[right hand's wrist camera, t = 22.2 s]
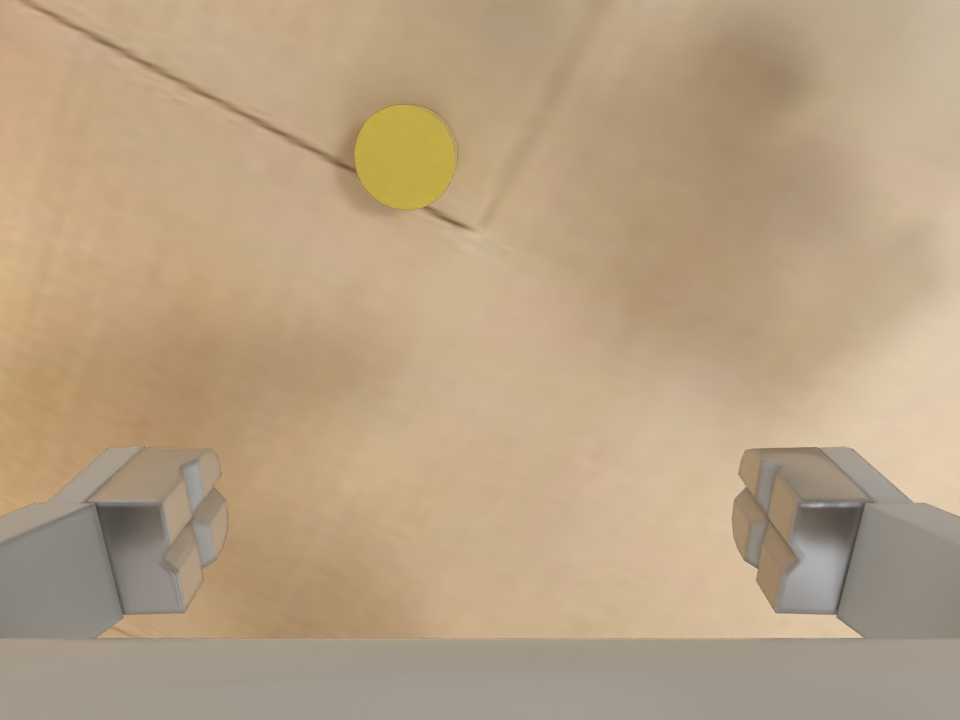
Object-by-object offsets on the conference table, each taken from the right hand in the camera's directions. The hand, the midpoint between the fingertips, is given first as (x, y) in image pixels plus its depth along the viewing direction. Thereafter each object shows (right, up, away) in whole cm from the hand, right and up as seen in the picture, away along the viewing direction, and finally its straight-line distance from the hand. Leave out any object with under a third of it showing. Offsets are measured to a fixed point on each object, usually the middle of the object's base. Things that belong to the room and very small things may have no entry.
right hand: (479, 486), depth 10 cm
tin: (-4, +13, +23) cm, 27 cm away
